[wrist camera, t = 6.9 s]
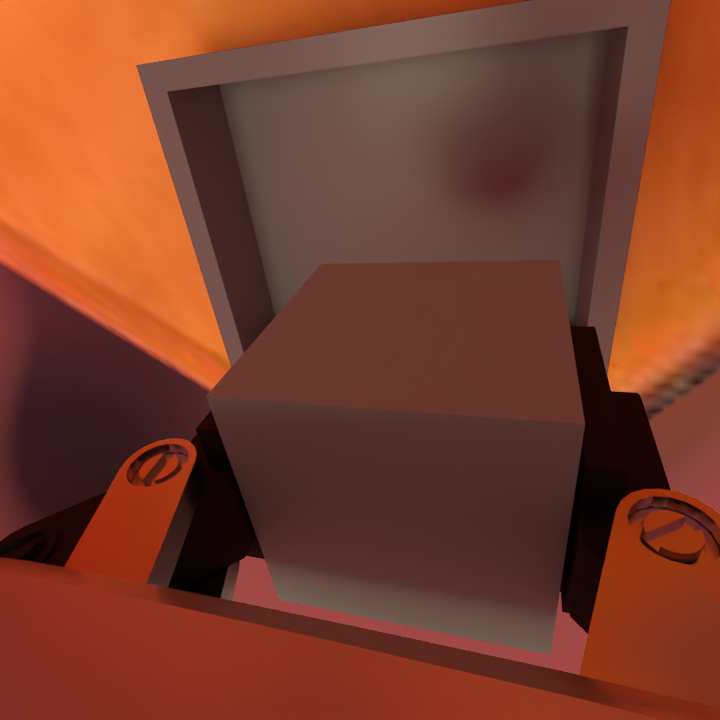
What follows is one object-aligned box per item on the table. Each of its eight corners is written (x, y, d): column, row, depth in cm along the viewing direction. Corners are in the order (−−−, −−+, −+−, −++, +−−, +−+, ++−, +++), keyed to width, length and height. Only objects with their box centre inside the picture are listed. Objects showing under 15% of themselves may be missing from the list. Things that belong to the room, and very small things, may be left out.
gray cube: (559, 259, 10) (585, 424, 6) (541, 450, 12) (550, 654, 8) (321, 264, 11) (206, 396, 7) (351, 433, 14) (279, 599, 10)
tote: (640, -11, 17) (674, -24, 13) (591, 331, 25) (604, 389, 21) (204, 58, 23) (136, 65, 19) (271, 324, 30) (232, 369, 26)
